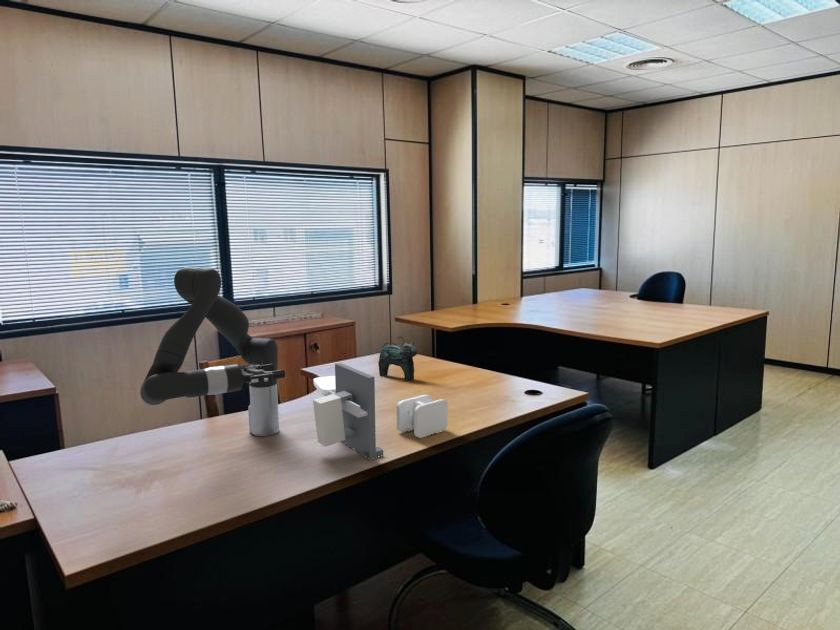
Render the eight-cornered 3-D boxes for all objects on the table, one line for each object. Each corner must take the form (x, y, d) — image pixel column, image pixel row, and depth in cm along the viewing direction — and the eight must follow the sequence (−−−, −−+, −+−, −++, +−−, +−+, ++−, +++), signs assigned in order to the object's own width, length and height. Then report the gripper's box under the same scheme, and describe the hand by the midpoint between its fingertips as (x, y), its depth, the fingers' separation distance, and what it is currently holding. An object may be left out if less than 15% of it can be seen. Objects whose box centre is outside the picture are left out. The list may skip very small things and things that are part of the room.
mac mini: (312, 383, 262) (312, 377, 262) (358, 378, 270) (358, 373, 270) (323, 396, 242) (322, 390, 242) (372, 390, 250) (372, 384, 250)
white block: (318, 441, 179) (312, 399, 176) (348, 431, 185) (344, 390, 182) (325, 446, 175) (320, 403, 172) (356, 436, 181) (352, 394, 178)
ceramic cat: (418, 379, 267) (418, 337, 264) (410, 382, 262) (410, 339, 258) (383, 373, 277) (383, 333, 274) (375, 376, 272) (375, 335, 269)
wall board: (328, 440, 191) (325, 365, 187) (350, 435, 196) (348, 361, 192) (360, 462, 173) (359, 379, 169) (384, 456, 178) (382, 375, 174)
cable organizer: (415, 441, 190) (415, 408, 188) (395, 433, 198) (395, 400, 196) (448, 431, 200) (448, 399, 198) (428, 423, 208) (427, 392, 206)
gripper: (229, 371, 149) (288, 362, 159) (213, 360, 161) (269, 353, 170) (231, 398, 150) (289, 388, 160) (215, 386, 162) (270, 377, 171)
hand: (278, 370), depth 165 cm, fingers open, 8 cm apart
